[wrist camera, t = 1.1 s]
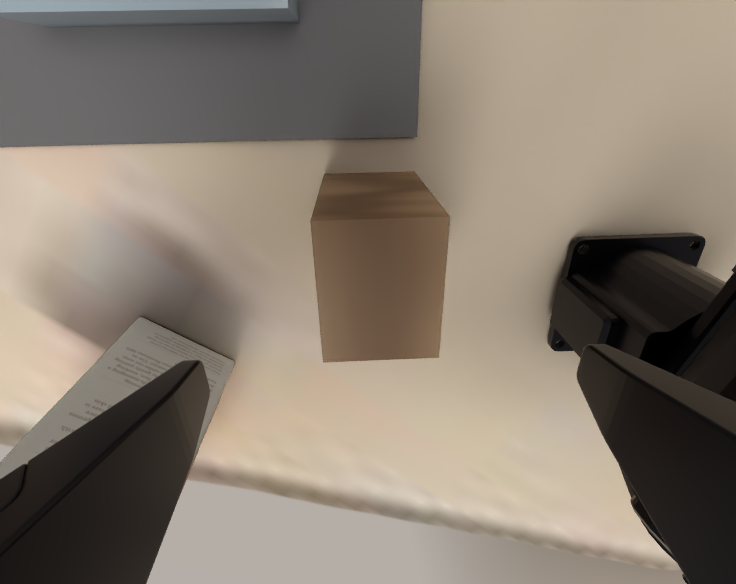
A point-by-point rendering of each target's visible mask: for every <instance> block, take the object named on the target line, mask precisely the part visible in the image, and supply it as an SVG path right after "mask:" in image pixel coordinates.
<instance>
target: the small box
mask: <svg viewBox="0 0 736 584" xmlns="http://www.w3.org/2000/svg"><path fill="white" fill-rule="evenodd" d="M184 360H200V361H202V363H203V365H204V368H205V372H206V376H207V379H208V383H209V387H210V397H209V401H208V405H207V409H206V413H205V417H204V421H203V425H202V429H201V433H200V436H199V440H198V444H197V448H196V452H195V455H194V458H193V461H192V464H191V467H190V470H191V468H192V465H193V463H194V460H195V458H196V455H197V453H198V450H199V447H200V445H201V443H202V440H203V438H204V436H205V433H206V431H207V429H208V426H209V424H210V422H211V420H212V417H213V415H214V412H215V410H216V408H217V405H218V403H219V400H220V398H221V395H222V393H223V390H224V388H225V385H226V383H227V381H228V378H229V376H230V374H231V372H232V369H233V367H234V365H235V362H234V361H233V360H231V359H228V358H226V357H224V356H222V355H220V354H218V353H216V352H213V351H211V350H209V349H207V348H205V347H203V346H201V345H199V344H197V343H195V342H192V341H190V340H188V339H186V338H184V337H182V336H180V335H178V334H176V333H174V332H172V331H170V330H168V329H165V328H163V327H161V326H159V325H157V324H155V323H153V322H151V321H149V320H147V319H145V318H142V317H139V318H137V319H136V321H135V322H134V323H133V324H132V325H131V326H130V327H129V328H128V329H127V330H126V331H125V332H124V333H123V334H122V335H121V336H120V337H119V338H118V339H117V340H116V342H115V343H114V344H113V345H112V346H111V347H110V348H109V349H108V350H107V351H106V352H105V353H104V354H103V355H102V356H101V357H100V358H99V359H98V361H97V362H96V363H95V364H94V365H93V366H92V367H91V368H90V369H89V370H88V371H87V372H86V373H85V374H84V375H83V376H82V377H81V378H80V379H79V380H78V381H77V383H76V384H75V385H74V386H73V387H72V388H71V389H70V390H69V391H68V392H67V393H66V394H65V395H64V396H63V397H62V398H61V399H60V400H59V401H58V402H57V403H56V404H55V405H54V406H53V408H52V409H51V410H50V411H49V412H48V413H47V414H46V415H45V416H44V417H43V418H42V419H41V420H40V421H39V422H38V423H37V424H36V425H35V426H34V427H33V428H32V429H31V431H30V432H29V433H28V434H27V435H26V436H25V437H24V438H23V439H22V440H21V441H20V442H19V443H18V444H17V445H16V446H15V447H14V448H13V449H12V450H11V452H9V454H8V455H7V456H6V457H5V458H4V459H3V460H2V461H1V462H0V479H1V478H3V477H4V476H6V475H7V474H9V473H10V472H12V471H13V470H15V469H16V468H18V467H19V466H21V465H22V464H27V463H28V461H29V460H30V459H32V458H33V457H35V456H36V455H38V454H40V453H41V452H43V451H44V450H46V449H47V448H49V447H50V446H52V445H53V444H55V443H56V442H58V441H60V440H61V439H63V438H64V437H66V436H67V435H69V434H70V433H72V432H73V431H75V430H76V429H78V428H80V427H81V426H83V425H84V424H86V423H87V422H89V421H90V420H92V419H93V418H95V417H96V416H98V415H99V414H101V413H103V412H104V411H106V410H107V409H109V408H110V407H112V406H113V405H115V404H116V403H118V402H119V401H121V400H123V399H124V398H126V397H127V396H129V395H130V394H132V393H133V392H135V391H136V390H138V389H139V388H141V387H143V386H144V385H146V384H147V383H149V382H150V381H152V380H153V379H155V378H156V377H158V376H159V375H161V374H163V373H164V372H166V371H167V370H169V369H170V368H172V367H173V366H175V365H176V364H178V363H179V362H181V361H184ZM190 470H189V472H188V475H189V473H190ZM188 475H187V477H188ZM186 480H187V478H186ZM186 480H185V482H186ZM184 485H185V483H184ZM184 485H183V487H184ZM182 489H183V488H182ZM181 492H182V491H181ZM180 494H181V493H180Z"/></svg>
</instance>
